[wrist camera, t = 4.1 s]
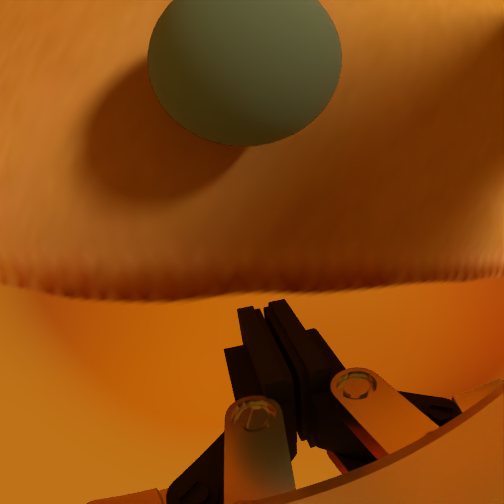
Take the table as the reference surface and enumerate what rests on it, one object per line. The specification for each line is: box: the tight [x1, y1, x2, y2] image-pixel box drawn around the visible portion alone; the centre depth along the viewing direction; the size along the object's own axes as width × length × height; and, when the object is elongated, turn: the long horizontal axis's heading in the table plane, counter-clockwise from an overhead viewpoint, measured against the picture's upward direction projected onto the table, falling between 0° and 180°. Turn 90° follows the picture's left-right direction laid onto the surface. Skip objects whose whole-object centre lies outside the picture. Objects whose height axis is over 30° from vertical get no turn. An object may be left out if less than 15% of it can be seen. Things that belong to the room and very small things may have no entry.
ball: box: [148, 0, 342, 146], centre depth 7 cm, size 6×6×6 cm
